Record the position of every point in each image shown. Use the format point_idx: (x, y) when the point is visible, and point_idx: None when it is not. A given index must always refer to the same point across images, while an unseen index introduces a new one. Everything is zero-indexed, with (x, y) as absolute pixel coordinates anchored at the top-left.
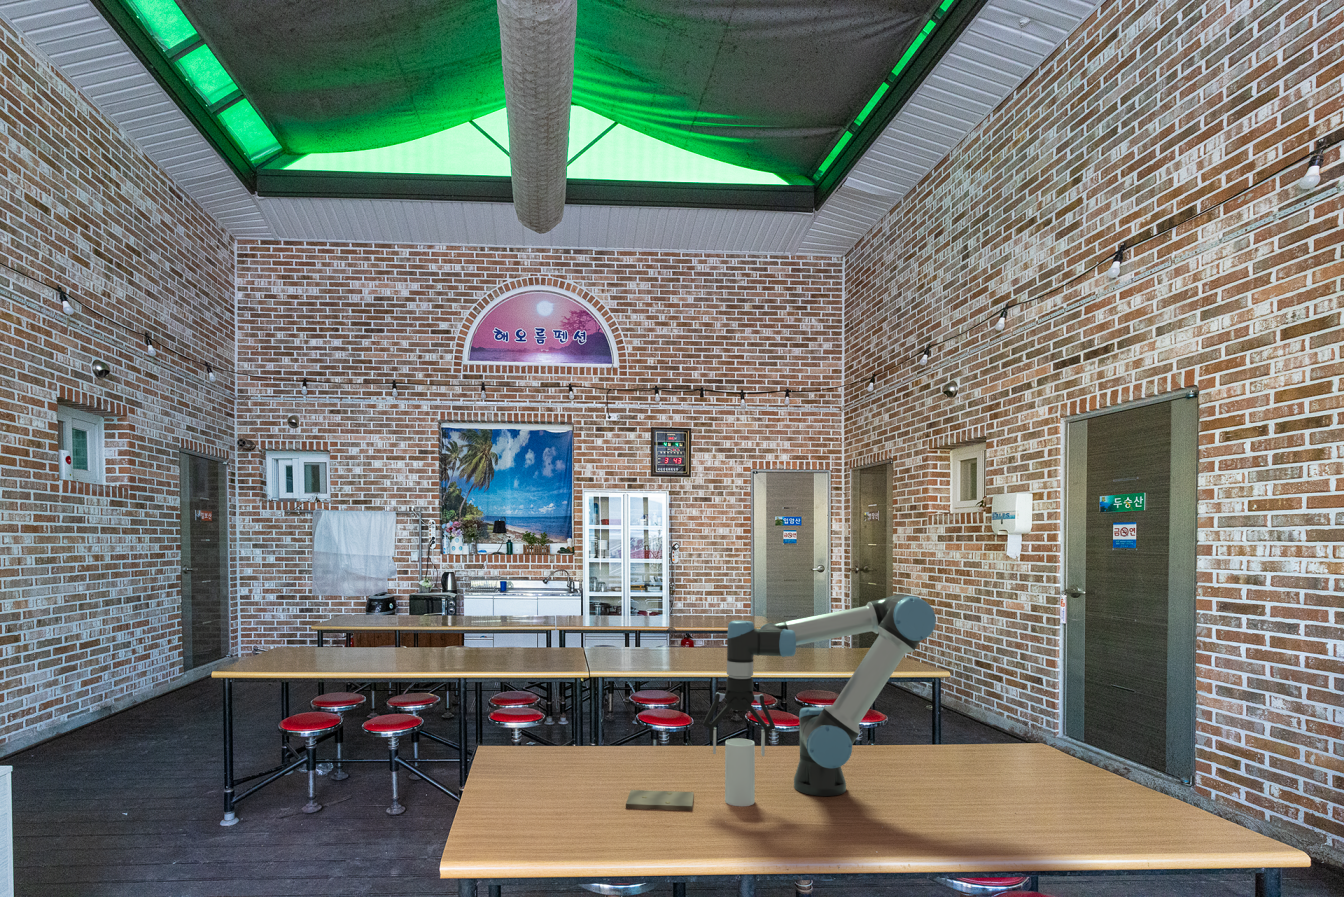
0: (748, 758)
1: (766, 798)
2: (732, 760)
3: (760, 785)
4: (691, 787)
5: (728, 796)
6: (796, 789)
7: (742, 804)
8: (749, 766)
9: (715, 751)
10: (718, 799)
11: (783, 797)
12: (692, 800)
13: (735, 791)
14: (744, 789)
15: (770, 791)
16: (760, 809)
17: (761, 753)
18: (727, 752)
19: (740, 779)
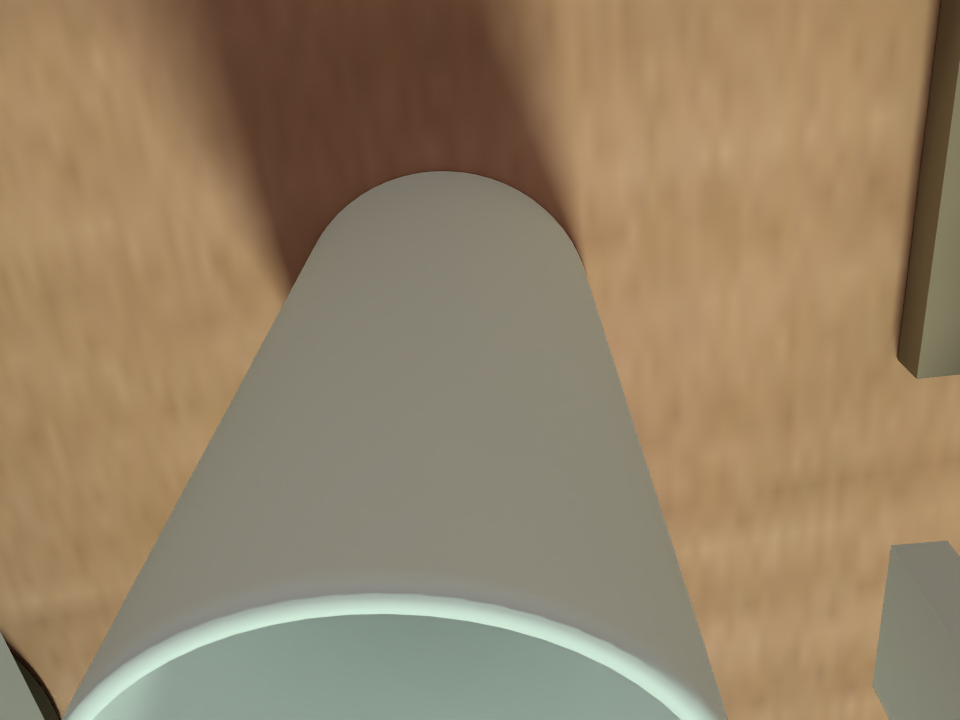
0: (215, 470)
1: None
2: (536, 409)
3: None
4: None
5: (556, 237)
6: (16, 662)
7: (400, 180)
8: (238, 405)
9: (921, 580)
10: (655, 329)
11: (77, 492)
12: (957, 110)
13: (474, 215)
14: (362, 235)
15: None
16: (207, 125)
17: (28, 717)
18: (660, 561)
19: (401, 262)
